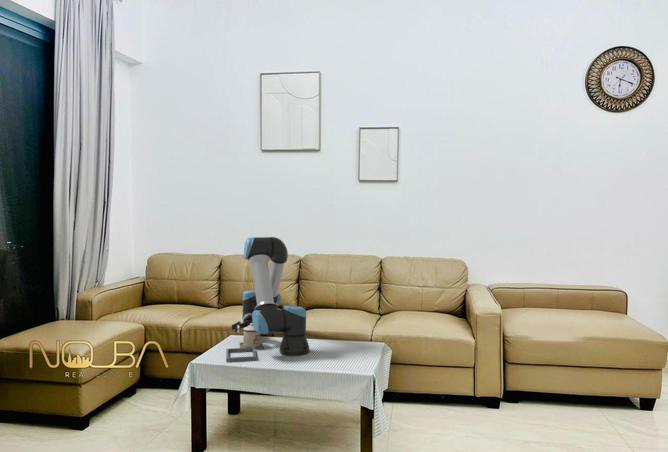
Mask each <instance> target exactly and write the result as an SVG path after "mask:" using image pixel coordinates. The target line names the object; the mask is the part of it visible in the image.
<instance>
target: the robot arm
mask: <svg viewBox="0 0 668 452" xmlns="http://www.w3.org/2000/svg"><path fill="white" fill-rule="evenodd" d="M288 251H289V250H288V248H287V246H286V245H285V242H284V241H283V240H281V239H280V238H278V237H276V236H265V237H264V236H262V237H261V236H260V237H257V236H256V237H255V236H253V237H247V238H246V240H245V242H244V247H243V259H244V260H247V263H248V264H249V265H250V266H251V270H252V278H253V287H254V290H244V291H243V292H242V322H241V321H239V320H238V321H237V322H235V323H234V324H232V325H231V330H232V331H234V330H235V332H237V334H240V330H241V329H244V328H245V327H247V326H249V325H250V323H253V326H254V329H255V331H256V332H257V333H258V334H260V335H270V334H278V333H279V334H280V333H282V338H281V339H282V340H281V342H280V345H279V353H280V354H281V355H285V356H292V357H293V356H294V357H295V356H304V355H307V354H308V353H310V345H309V342H308V339H307V311H306V308H305V307H303V306H298V305H291V304H290V305H288V304H287V305H283V307H282V308H279V307H278V306H279V305H280V304H281V302H282V301H281V299H282V297H281V294H280V292H279V290H280V286H281V285H280V284H281V281H282V277H283V271H284V267H285V264H286V263H287V262H288V261H287V260H288V257H289V254H288V253H289V252H288ZM269 262H270V265H269Z"/></svg>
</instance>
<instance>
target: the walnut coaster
mask: <svg viewBox="0 0 668 452" xmlns="http://www.w3.org/2000/svg"><path fill="white" fill-rule="evenodd" d="M263 343H264V342H263V341H260V345H259V346H258V347H254V348H255V350H259V349H261V350H262V349H264V344H263ZM239 348H251V347H245V346H244V341H243V342H239Z"/></svg>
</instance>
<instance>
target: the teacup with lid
mask: <svg viewBox="0 0 668 452" xmlns="http://www.w3.org/2000/svg"><path fill="white" fill-rule="evenodd" d="M242 330H243V342H244V346H245V347H258V346H259V345H260V342H261V334H258V333H257V332H256V331H255V329H254V326H253V323H250V325H249V326H247V327H245V328H242Z"/></svg>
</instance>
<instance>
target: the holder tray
mask: <svg viewBox="0 0 668 452" xmlns="http://www.w3.org/2000/svg"><path fill="white" fill-rule="evenodd" d="M225 349H226V352H225V353H226V356H225V359H226V363H233V362H251V361H253V362H255V361H257V354H256V349H255V348H254V347H251V348H240V347H235V348H225ZM250 352H252V355H251V356H250V355H249V356H232V357H230V356H229V354H230V353H250Z"/></svg>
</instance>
